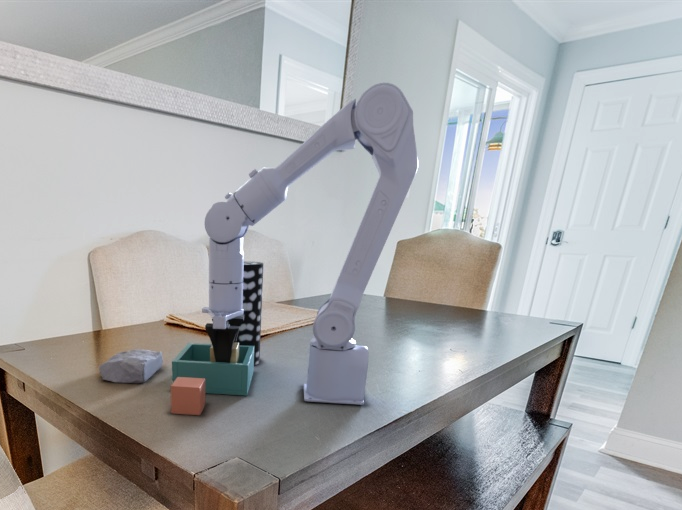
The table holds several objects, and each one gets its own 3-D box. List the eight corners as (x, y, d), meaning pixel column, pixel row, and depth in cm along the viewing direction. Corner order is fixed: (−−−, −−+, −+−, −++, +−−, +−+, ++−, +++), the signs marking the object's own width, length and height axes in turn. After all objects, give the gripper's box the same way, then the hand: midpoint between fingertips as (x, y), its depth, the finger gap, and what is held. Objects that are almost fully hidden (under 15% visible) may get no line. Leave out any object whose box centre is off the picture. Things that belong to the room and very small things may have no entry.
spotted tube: (266, 359, 99) (270, 262, 91) (247, 369, 92) (250, 265, 85) (232, 353, 103) (234, 260, 96) (212, 362, 96) (212, 263, 89)
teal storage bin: (253, 372, 90) (254, 345, 88) (247, 395, 78) (248, 365, 76) (188, 369, 92) (188, 342, 90) (172, 391, 80) (171, 361, 78)
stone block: (97, 390, 85) (147, 383, 83) (91, 365, 84) (141, 357, 81) (123, 373, 96) (167, 366, 94) (117, 350, 95) (162, 343, 92)
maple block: (238, 366, 84) (239, 342, 82) (235, 374, 79) (236, 348, 78) (214, 365, 84) (214, 341, 83) (210, 372, 80) (210, 347, 78)
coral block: (205, 404, 74) (205, 378, 73) (200, 415, 70) (199, 387, 68) (178, 403, 75) (177, 376, 73) (171, 413, 71) (170, 385, 69)
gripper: (209, 276, 84) (209, 349, 88) (193, 287, 70) (194, 372, 75) (248, 277, 83) (246, 351, 87) (239, 288, 69) (237, 374, 74)
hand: (225, 361), depth 81 cm, fingers closed on maple block, 4 cm apart
